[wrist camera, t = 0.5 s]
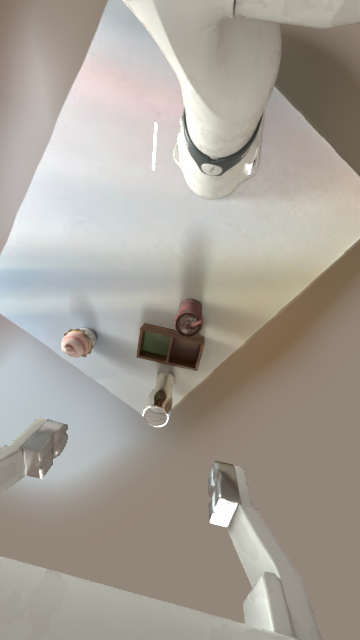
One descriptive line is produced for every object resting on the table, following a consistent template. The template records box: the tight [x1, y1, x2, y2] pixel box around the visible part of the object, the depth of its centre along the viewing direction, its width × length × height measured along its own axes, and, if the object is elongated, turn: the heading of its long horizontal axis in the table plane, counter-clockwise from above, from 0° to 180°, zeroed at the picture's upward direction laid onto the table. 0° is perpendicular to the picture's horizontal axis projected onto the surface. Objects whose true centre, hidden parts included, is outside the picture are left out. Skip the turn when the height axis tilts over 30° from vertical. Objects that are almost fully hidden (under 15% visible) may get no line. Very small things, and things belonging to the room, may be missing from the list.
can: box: [174, 299, 203, 337], centre depth 44 cm, size 6×6×14 cm
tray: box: [137, 323, 205, 371], centre depth 53 cm, size 9×18×4 cm, turn 79°
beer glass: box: [143, 372, 175, 427], centre depth 52 cm, size 7×7×15 cm
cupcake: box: [61, 328, 96, 357], centre depth 52 cm, size 9×9×10 cm
